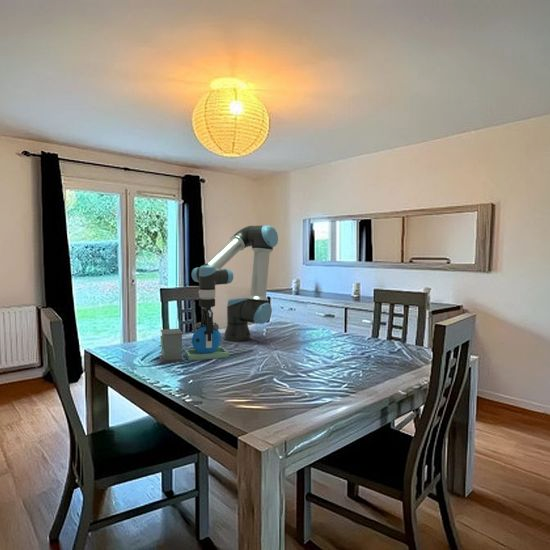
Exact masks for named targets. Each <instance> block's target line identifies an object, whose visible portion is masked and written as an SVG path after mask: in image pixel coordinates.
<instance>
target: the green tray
mask: <svg viewBox="0 0 550 550" xmlns="http://www.w3.org/2000/svg"><path fill="white" fill-rule="evenodd" d="M184 356H185V357H186V358H187V360H188V361H189V362H192V361H203V360H213V359H224V358H225V359H226V358H230V351H228V350H227V348H225V347H224V346H220V347H218V348H217V350H216V351H215V352H213V353H209V354H201V353H199V352H198V351H196V350H195V348H194V349H193V348H191V349H184Z"/></svg>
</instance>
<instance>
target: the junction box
mask: <svg viewBox="0 0 550 550" xmlns="http://www.w3.org/2000/svg"><path fill="white" fill-rule="evenodd" d="M160 333H161V335H160V348H161V354H159V355H158V357H159V360H160V361H161V362H160V363H161V364H171V363H182V362H185V361H186V359H185V358H184V356H183V335H184V333H183V331H182V330H181V329H180V328H166V329H160Z"/></svg>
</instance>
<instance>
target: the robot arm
mask: <svg viewBox="0 0 550 550" xmlns="http://www.w3.org/2000/svg"><path fill="white" fill-rule="evenodd" d="M278 242H279V233H278V232H277V230H276V229H275V227H274V226H272V225H263V224H262V225H248V226H245V227H243V228H240V229H239V230H238V231H237V232H235V233H234V234H233V235H232V236H231V237H230V240H229V241H228V242H227V243H226V244H225V245H224V246H223V247H222V248H221V249H219V250H218V251H217V252H216V253H215V254H214V255H213V256H212V257H211V258H209V259H208V261H206V263H204V264H203V265H201V266H200V267H195V268H193V269H192V270H191V278H192V280H193V281H194V282H195V283H196V282H197V283H198V286H199V287H198V288H199V291H198V292H197V293H198V294H199V295H198V297H199V299H198V306H199V307H201V322H203V323H204V324H205V325H206V332H207V333H205V334H206V348H212V333H213V322H214V313H213V310H212V308H214V307H215V306H216V299H215V298H216V286H217V285H220V286H221V285H228V284H229V285H230V284H231V283H232V282H233V280H234V273H233V270H231V269H230V268H223V267H224V266H225V265H226V264H228V263H229V262H230V261H231V260H232V259H233V258H234V256H236V255H237V254H238V253H239V252H240V251H243V250H244V249H246V248H248V247H249V248H250V247H251V250H252V251H253V261H252V262H253V264H252V272H251V273H252V275H251V286H250V295H249V296H248V297H238V298H232V299H228V301H227V305H226V306H227V307H226V309H227V310H226V311H227V312H226V313H227V316H226V321H227V324H226V327H225V328H226V329H225V330H224V334H223V339H224V340H225V341H230V342H231V341H232V342H243V341H244V342H245V341H249V340H250V339H251V336H252V335H251V331H250V328H249V325H248V323H253V324H258V325H263V324H266V323H267V322H268V321H269V320H270V318H271V316H272V313H273V308H272V305H271V304H270V303H269V299H268V298H267V289H268V276H269V275H268V274H269V264H270V255H271V253H272V252H273V250H274V247H276V246H277V244H278ZM203 326H204V325H203Z"/></svg>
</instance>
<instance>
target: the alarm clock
mask: <svg viewBox="0 0 550 550" xmlns="http://www.w3.org/2000/svg"><path fill="white" fill-rule="evenodd" d="M203 325H204V326H203ZM219 328H220V327H219V324H218V323H217V322H214V321H213V333H212V348H206V334H205V333H207V332H206V325H205V324H204V323H203V322H202V321H200V322H197V323H196V324H195V325H194V329H195V331H194V333H193V334H192V337H191V343H192V346H193V348H194V349H195V350H196V351H198V352H199V353H201V354H209V353H213V352H215V351H216V350H217V348H218V347H219V346H220V345H221V343H222V336H221V332H220V330H219Z"/></svg>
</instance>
